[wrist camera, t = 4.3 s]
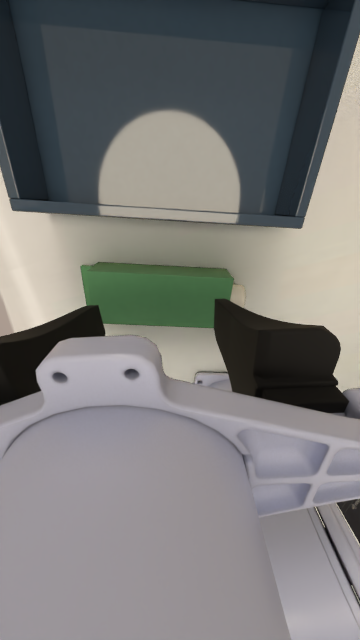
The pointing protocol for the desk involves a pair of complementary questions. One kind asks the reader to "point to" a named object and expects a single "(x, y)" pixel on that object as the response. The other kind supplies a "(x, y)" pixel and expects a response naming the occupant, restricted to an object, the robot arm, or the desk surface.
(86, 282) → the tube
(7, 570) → the robot arm
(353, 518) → the small box
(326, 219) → the desk surface
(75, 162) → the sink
